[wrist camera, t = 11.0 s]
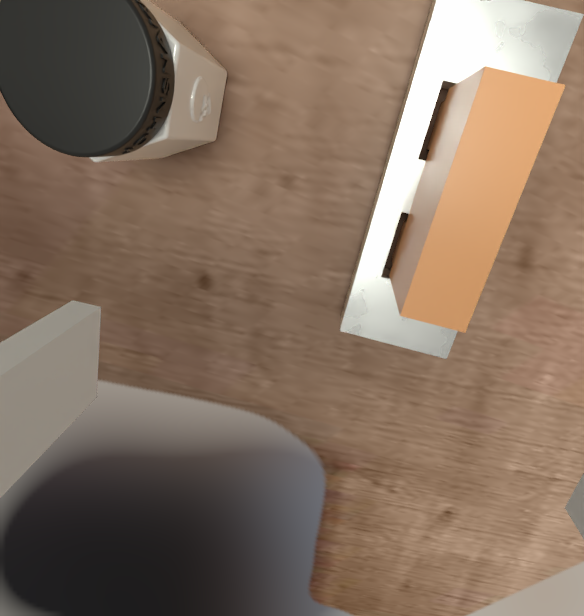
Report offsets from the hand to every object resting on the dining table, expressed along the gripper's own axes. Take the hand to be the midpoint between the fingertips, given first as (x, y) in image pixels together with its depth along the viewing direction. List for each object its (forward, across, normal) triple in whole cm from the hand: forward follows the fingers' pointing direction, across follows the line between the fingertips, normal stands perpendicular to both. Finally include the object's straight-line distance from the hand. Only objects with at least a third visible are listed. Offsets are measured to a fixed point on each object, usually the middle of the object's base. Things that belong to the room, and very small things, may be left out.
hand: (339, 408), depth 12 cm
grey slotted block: (+24, +6, +4) cm, 25 cm away
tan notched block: (+24, +6, +4) cm, 25 cm away
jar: (+24, -14, +7) cm, 29 cm away
